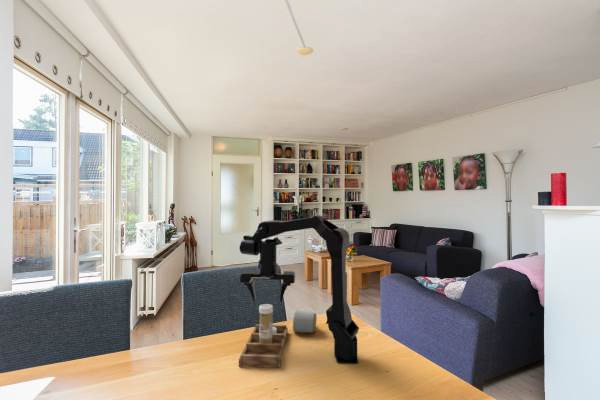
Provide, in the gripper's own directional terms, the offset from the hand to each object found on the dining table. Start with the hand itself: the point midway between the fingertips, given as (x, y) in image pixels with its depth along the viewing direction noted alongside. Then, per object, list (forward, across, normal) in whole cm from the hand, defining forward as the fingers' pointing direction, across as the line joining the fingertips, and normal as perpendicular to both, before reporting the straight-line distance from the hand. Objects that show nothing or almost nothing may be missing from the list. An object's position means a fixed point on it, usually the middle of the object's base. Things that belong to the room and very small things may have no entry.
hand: (267, 301), depth 105 cm
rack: (+13, 0, +6) cm, 15 cm away
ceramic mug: (+14, -13, -8) cm, 20 cm away
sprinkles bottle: (+13, 0, +6) cm, 14 cm away
